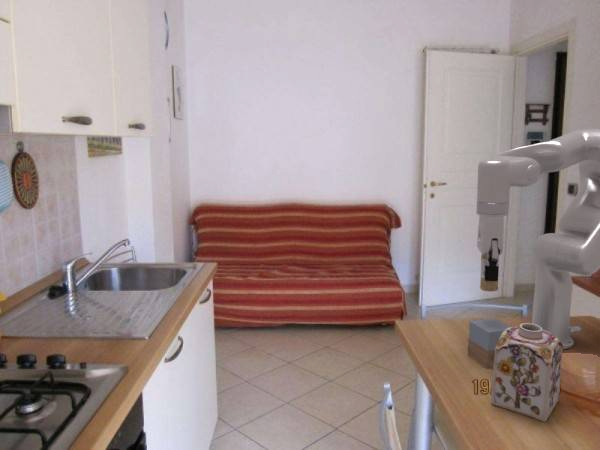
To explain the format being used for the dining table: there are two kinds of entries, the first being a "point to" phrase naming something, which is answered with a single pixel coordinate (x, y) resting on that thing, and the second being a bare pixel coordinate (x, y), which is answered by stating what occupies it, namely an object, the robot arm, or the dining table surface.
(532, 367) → the decorative jar
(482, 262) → the sprinkles bottle
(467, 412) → the dining table surface
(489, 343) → the slate top block
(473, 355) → the walnut base block
